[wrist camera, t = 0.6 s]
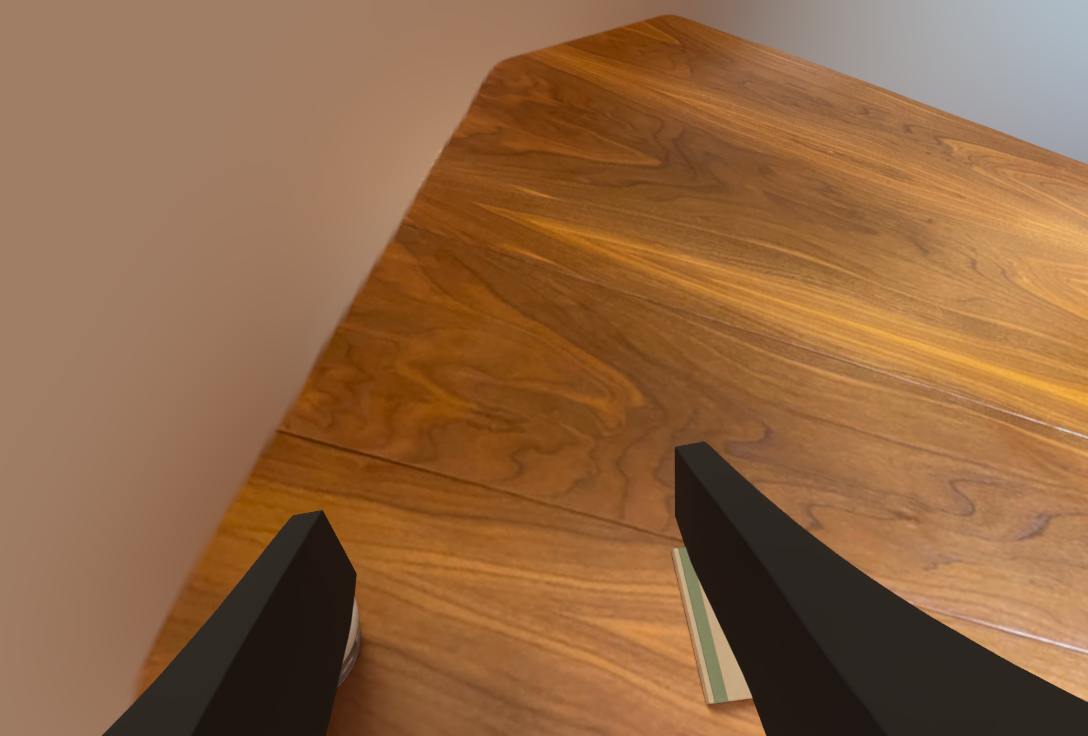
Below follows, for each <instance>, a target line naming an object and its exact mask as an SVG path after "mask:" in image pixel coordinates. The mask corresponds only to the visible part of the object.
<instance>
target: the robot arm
mask: <svg viewBox="0 0 1088 736" xmlns="http://www.w3.org/2000/svg"><path fill="white" fill-rule="evenodd" d="M675 517H676V520H677V523H678V526H679V529H680V532H681V535H682V538H683V541H684V544H685V547H686V550H687V553H688V556H689V559H690V562H691V564H692V566H693V568H694V571H695V573H696V575H697V577H698V579H699V582H700V584H701V586H702V588H703V590H704V592H705V595H706V597H707V599H708V601H709V603H710V605H711V607H712V610H713V612H714V614H715V616H716V618H717V620H718V622H719V624H720V627H721V629H722V631H723V633H724V635H725V637H726V639H727V642H728V644H729V646H730V648H731V650H732V652H733V654H734V657H735V659H736V661H737V663H738V665H739V667H740V669H741V672H742V674H743V676H744V679H745V681H746V683H747V686H748V688H749V691H750V693H751V695H752V698H753V701H754V703H755V706H756V709H757V712H758V714H759V717H760V720H761V723H762V725H763V728H764V731H765V733H766V736H1088V702H1086V701H1084V700H1082V699H1080V698H1078V697H1076V696H1074V695H1072V694H1070V693H1068V692H1066V691H1064V690H1062V689H1061V688H1059V687H1057V686H1055V685H1053V684H1051V683H1049V682H1047V681H1045V680H1043V679H1041V678H1040V677H1038V676H1036V675H1034V674H1032V673H1030V672H1028V671H1026V670H1024V669H1022V668H1020V667H1018V666H1017V665H1015V664H1013V663H1011V662H1009V661H1007V660H1005V659H1004V658H1002V657H1000V656H998V655H996V654H995V653H993V652H991V651H990V650H988V649H986V648H984V647H983V646H981V645H979V644H977V643H976V642H974V641H972V640H970V639H969V638H967V637H965V636H964V635H962V634H960V633H958V632H957V631H955V630H953V629H951V628H950V627H948V626H946V625H944V624H943V623H941V622H939V621H938V620H936V619H934V618H932V617H931V616H929V615H927V614H926V613H924V612H923V611H921V610H919V609H918V608H916V607H915V606H913V605H912V604H910V603H908V602H907V601H905V600H904V599H902V598H900V597H899V596H897V595H896V594H894V593H893V592H891V591H890V590H888V589H887V588H885V587H884V586H882V585H881V584H879V583H878V582H876V581H875V580H873V579H872V578H870V577H869V576H867V575H866V574H864V573H863V572H862V571H860V570H859V569H857V568H856V567H855V566H853V565H852V564H850V563H849V562H848V561H846V560H845V559H843V558H842V557H841V556H839V555H838V554H837V553H835V552H834V551H833V550H831V549H830V548H829V547H827V546H826V545H825V544H823V543H822V542H821V541H819V540H818V539H817V538H815V537H814V536H813V535H812V534H810V533H809V532H808V531H807V530H805V529H804V528H803V527H802V526H800V525H799V524H798V523H796V522H795V521H794V520H793V519H792V518H790V517H789V516H788V515H787V514H786V513H784V512H783V511H782V510H781V509H780V508H778V507H777V506H776V505H775V504H774V503H773V502H771V501H770V500H769V499H768V498H767V497H765V496H764V495H763V494H762V493H761V492H760V491H759V490H757V489H756V488H755V487H754V486H753V485H752V484H751V483H750V482H748V481H747V480H746V479H745V478H744V477H743V476H742V475H741V474H740V473H739V472H737V471H736V470H735V469H734V468H733V467H732V466H731V465H730V464H729V463H728V462H727V461H726V460H725V459H723V458H722V457H721V456H720V455H719V454H718V453H717V452H716V451H715V450H714V449H713V448H712V447H711V446H710V445H708V444H707V443H706V442H699V443H694V444H688V445H682V446H677V447H675ZM356 575H357V574H356V572H355V570H354V568H353V566H352V564H351V562H350V560H349V559H348V557H347V555H346V553H345V551H344V549H343V547H342V545H341V544H340V542H339V540H338V538H337V536H336V534H335V532H334V531H333V529H332V527H331V525H330V523H329V521H328V519H327V517H326V516H325V514H324V512H323V510H320V511H315V512H309V513H304V514H298V515H293V516H292V517H291V518H290V519H289V520H288V522H287V523H286V524H285V525H284V526H283V528H282V529H281V530H280V531H279V533H278V534H277V535H276V536H275V538H274V539H273V540H272V541H271V543H270V544H269V545H268V546H267V548H266V549H265V550H264V551H263V553H262V554H261V555H260V557H259V558H258V559H257V560H256V562H255V563H254V564H253V565H252V567H251V568H250V569H249V570H248V572H247V573H246V574H245V575H244V577H243V578H242V579H241V580H240V582H239V583H238V584H237V585H236V587H235V588H234V589H233V590H232V591H231V593H230V594H229V595H228V596H227V598H226V599H225V600H224V601H223V603H222V604H221V605H220V606H219V608H218V609H217V610H216V611H215V612H214V614H213V615H212V616H211V617H210V618H209V620H208V621H207V622H206V623H205V624H204V625H203V626H202V628H201V629H200V630H199V631H198V632H197V633H196V635H195V636H194V637H193V638H192V639H191V640H190V641H189V643H188V644H187V645H186V646H185V647H184V648H183V649H182V651H181V652H180V653H179V654H178V655H177V656H176V657H175V659H174V660H173V661H172V662H171V663H170V664H169V666H168V667H167V668H166V669H165V670H164V671H163V672H162V674H161V675H160V676H159V677H158V678H157V679H156V680H155V681H154V682H153V683H152V684H151V685H150V687H149V688H148V689H147V690H146V691H145V692H144V693H143V694H142V695H141V696H140V697H139V698H138V699H137V700H136V701H135V702H134V703H133V705H132V706H131V707H130V708H129V709H128V710H127V711H126V712H125V713H124V714H123V715H122V716H121V717H120V718H119V719H118V720H117V721H116V722H115V723H114V724H113V725H112V726H111V727H110V728H109V729H108V730H107V731H106V732H105V733H104V734H103V735H102V736H326V732H327V728H328V724H329V719H330V715H331V711H332V707H333V702H334V698H335V694H336V690H337V685H338V681H339V677H340V673H341V668H342V664H343V660H344V655H345V651H346V646H347V642H348V638H349V633H350V628H351V623H352V615H353V606H354V597H355V586H356Z"/></svg>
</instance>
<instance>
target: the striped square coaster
mask: <svg viewBox="0 0 1088 736" xmlns="http://www.w3.org/2000/svg"><path fill="white" fill-rule="evenodd" d="M671 552H672V557H673V561H674V565H675V570H676V574H677V578H678V583H679V587H680V591H681V596H682V600H683V604H684V609H685V613H686V618H687V622H688V626H689V631H690V635H691V639H692V644H693V648H694V652H695V657H696V661H697V665H698V670H699V674H700V678H701V683H702V687H703V691H704V696H705V700H706V704H715V703H723V702H730V701H737V700H744V699H752V695H751V693H750V691H749V688H748V686H747V683H746V681H745V679H744V676H743V674H742V672H741V669H740V667H739V665H738V663H737V661H736V659H735V657H734V654H733V652H732V650H731V648H730V646H729V644H728V642H727V639H726V637H725V635H724V633H723V631H722V629H721V627H720V624H719V622H718V620H717V618H716V616H715V614H714V612H713V610H712V607H711V605H710V603H709V601H708V599H707V597H706V595H705V592H704V590H703V588H702V586H701V584H700V582H699V579H698V577H697V575H696V573H695V571H694V568H693V566H692V564H691V562H690V559H689V556H688V553H687V550H686V548H674V549H672V550H671Z"/></svg>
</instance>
